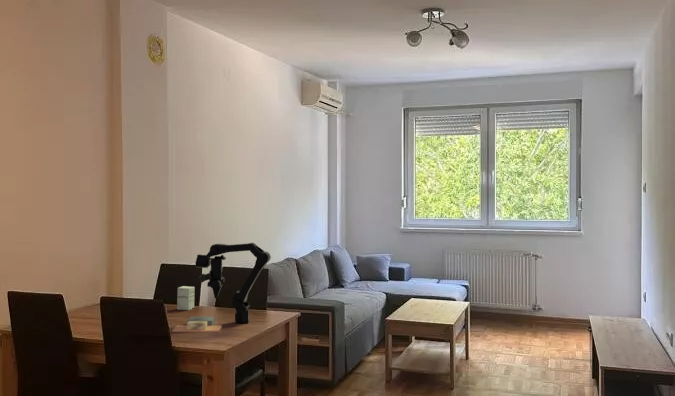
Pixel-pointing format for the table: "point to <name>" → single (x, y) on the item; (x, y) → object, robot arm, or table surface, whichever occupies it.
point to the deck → (203, 319)
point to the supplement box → (185, 298)
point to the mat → (184, 329)
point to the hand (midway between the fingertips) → (215, 298)
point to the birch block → (196, 324)
